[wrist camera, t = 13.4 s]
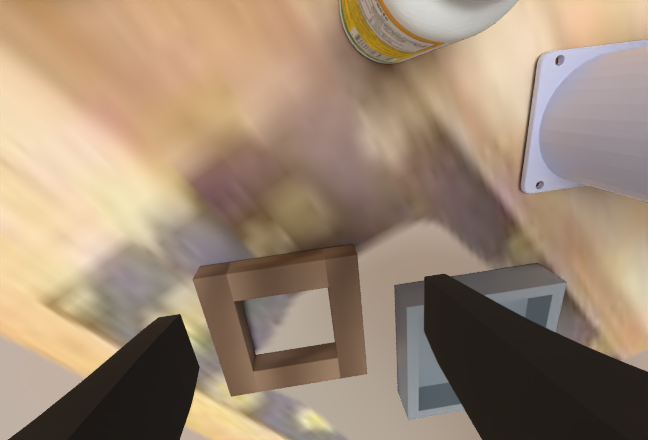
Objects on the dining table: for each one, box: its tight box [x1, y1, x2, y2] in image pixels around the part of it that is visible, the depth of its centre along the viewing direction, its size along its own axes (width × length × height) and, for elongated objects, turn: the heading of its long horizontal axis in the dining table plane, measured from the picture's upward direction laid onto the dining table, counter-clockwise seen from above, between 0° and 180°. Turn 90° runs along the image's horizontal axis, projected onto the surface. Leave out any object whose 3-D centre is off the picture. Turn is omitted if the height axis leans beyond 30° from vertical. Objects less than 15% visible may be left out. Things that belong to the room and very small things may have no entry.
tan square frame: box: [193, 244, 367, 396], centre depth 21 cm, size 10×10×2 cm
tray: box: [394, 263, 567, 420], centre depth 22 cm, size 11×11×2 cm
